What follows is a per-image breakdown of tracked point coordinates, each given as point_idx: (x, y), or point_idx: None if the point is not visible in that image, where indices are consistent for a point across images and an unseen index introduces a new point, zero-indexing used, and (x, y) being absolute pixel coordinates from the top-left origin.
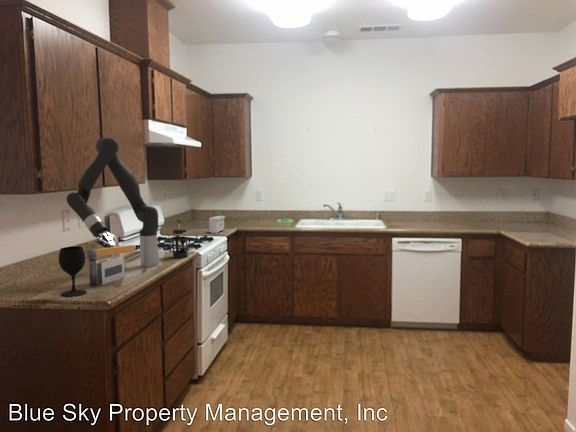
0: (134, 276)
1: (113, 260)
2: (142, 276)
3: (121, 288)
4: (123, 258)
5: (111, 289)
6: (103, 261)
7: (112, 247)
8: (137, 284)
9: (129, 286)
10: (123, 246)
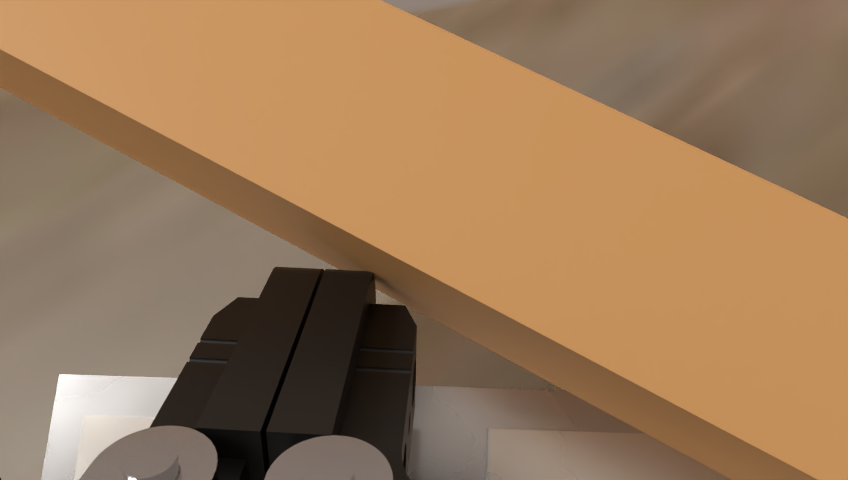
0: (144, 295)
1: (434, 387)
2: (127, 191)
3: (738, 72)
4: (91, 376)
5: (822, 150)
6: (696, 477)
7: (547, 271)
8: (520, 14)
9: (629, 43)
10: (250, 24)
